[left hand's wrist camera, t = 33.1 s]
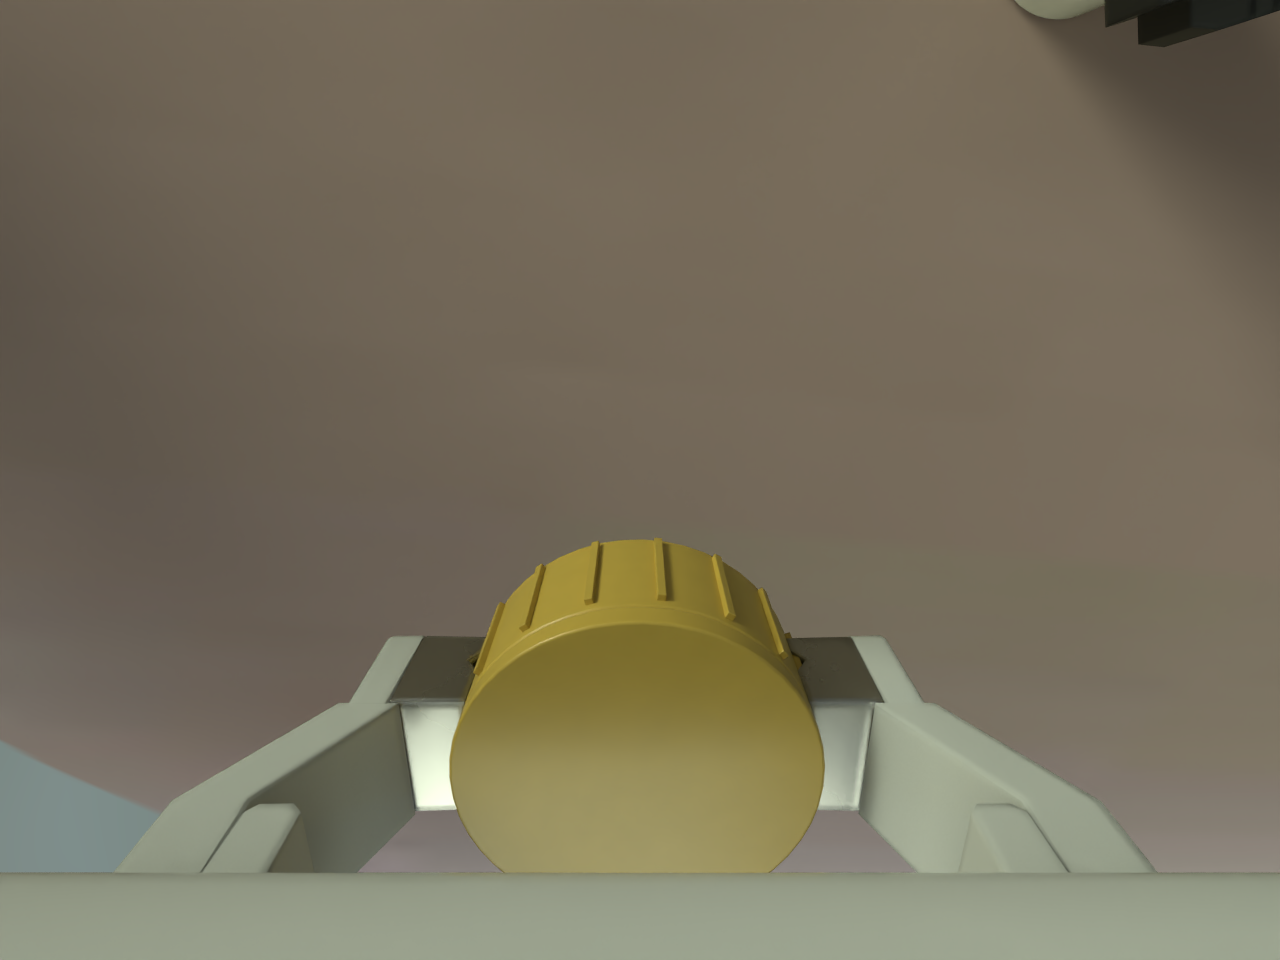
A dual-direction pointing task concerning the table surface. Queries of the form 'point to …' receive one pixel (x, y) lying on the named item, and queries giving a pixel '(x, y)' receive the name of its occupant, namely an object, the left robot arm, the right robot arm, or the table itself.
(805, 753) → the lid
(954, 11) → the table surface
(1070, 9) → the pale cream cylinder
